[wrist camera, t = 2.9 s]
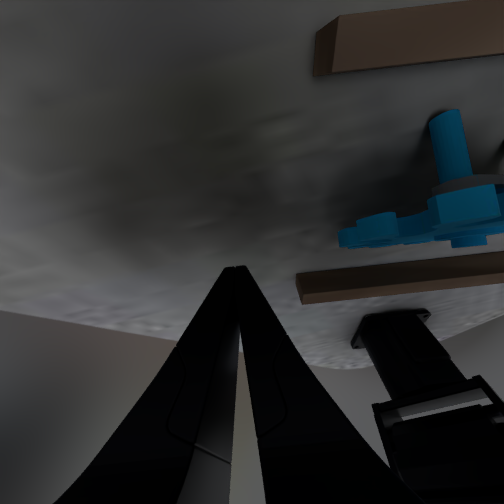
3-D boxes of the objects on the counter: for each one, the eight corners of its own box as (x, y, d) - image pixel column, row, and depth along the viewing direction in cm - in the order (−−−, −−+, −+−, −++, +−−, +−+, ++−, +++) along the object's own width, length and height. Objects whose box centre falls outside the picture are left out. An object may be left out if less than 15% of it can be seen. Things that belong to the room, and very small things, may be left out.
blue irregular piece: (306, 262, 12) (683, 217, 2) (296, 171, 13) (570, -162, 3) (443, 250, 14) (923, 203, 5) (429, 174, 15) (834, -11, 5)
